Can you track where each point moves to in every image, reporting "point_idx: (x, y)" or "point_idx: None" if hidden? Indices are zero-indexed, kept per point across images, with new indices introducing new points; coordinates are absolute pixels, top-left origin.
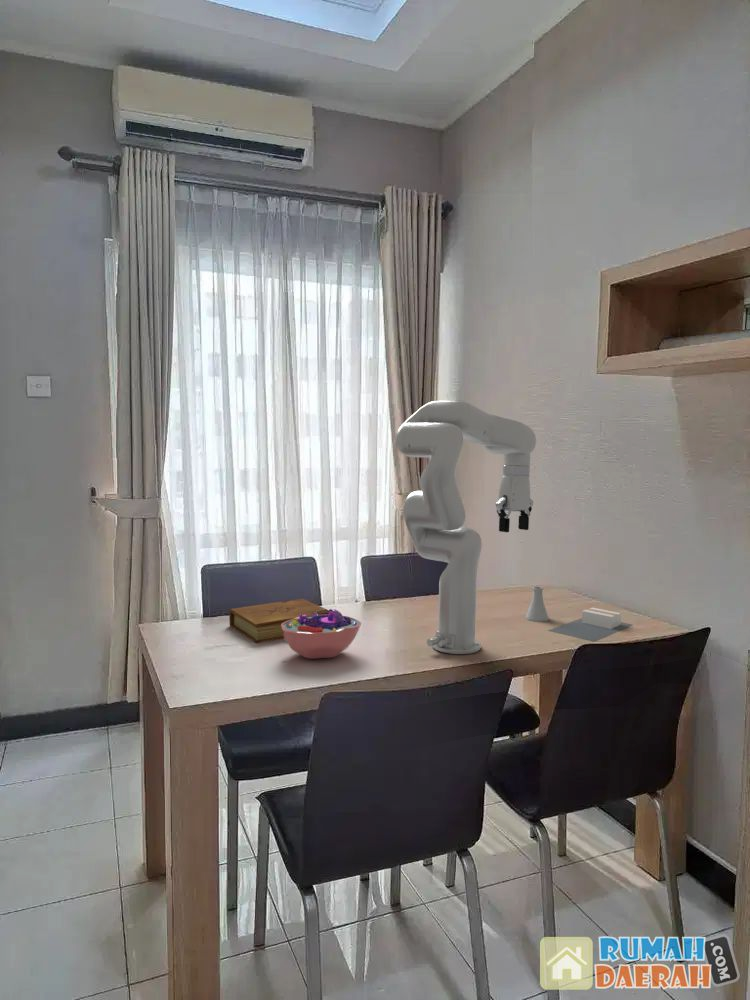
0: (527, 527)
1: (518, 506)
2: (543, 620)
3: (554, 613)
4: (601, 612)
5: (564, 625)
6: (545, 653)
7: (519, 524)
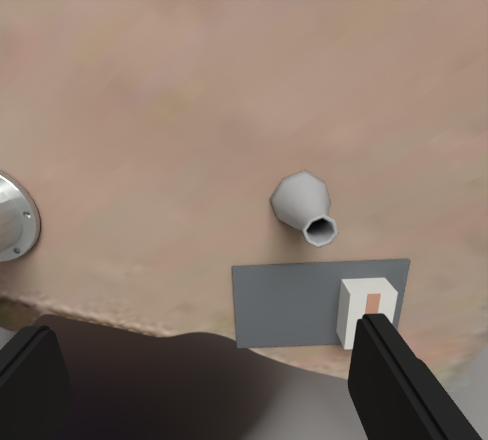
0: (359, 408)
1: None
2: (290, 225)
3: (388, 192)
4: None
5: (293, 269)
6: (121, 326)
7: (376, 358)
